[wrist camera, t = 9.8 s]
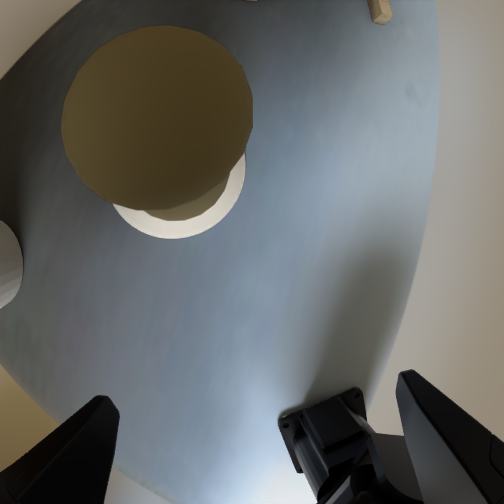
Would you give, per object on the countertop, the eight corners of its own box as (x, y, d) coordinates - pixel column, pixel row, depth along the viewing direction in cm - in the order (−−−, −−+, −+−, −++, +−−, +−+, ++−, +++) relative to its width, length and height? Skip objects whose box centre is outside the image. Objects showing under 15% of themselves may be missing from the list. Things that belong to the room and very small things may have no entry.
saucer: (262, 212, 18) (263, 212, 18) (130, 257, 17) (128, 258, 17) (221, 86, 17) (221, 83, 16) (93, 128, 16) (91, 127, 16)
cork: (249, 144, 17) (323, 52, 6) (199, 240, 17) (206, 279, 7) (155, 99, 16) (118, -27, 5) (105, 193, 16) (-10, 166, 5)
